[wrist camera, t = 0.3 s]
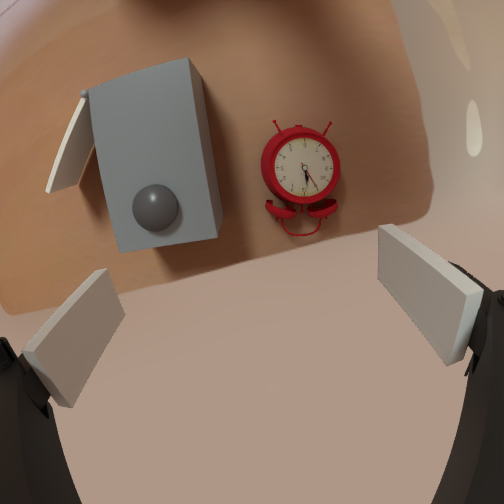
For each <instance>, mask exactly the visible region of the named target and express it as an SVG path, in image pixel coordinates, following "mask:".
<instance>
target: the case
mask: <svg viewBox="0 0 504 504" xmlns="http://www.w3.org/2000/svg"><path fill="white" fill-rule="evenodd" d="M88 93H89V103H90V112H91V120H92V128H93V135H94V141H95V148H96V153H97V159H98V165H99V170H100V175H101V180H102V185H103V189H104V194H105V198H106V203H107V207H108V211H109V215H110V219H111V223H112V227H113V230H114V234H115V238H116V241H117V245H118V248H119V252H120V253H124V252H130V251H136V250H142V249H148V248H154V247H161V246H167V245H173V244H180V243H186V242H193V241H199V240H206V239H213V238H218V235H219V232H220V228H221V225H222V222H223V219H224V214H223V208H222V202H221V197H220V191H219V185H218V179H217V173H216V167H215V161H214V155H213V149H212V143H211V136H210V130H209V124H208V117H207V111H206V104H205V98H204V91H203V84H202V77H201V75H200V73H199V72H198V71H197V69H196V68H195V66H194V65H193V63H192V62H191V61H190V59H189V58H188V57H186V58H182V59H178V60H174V61H170V62H166V63H163V64H159V65H155V66H152V67H149V68H145V69H142V70H139V71H136V72H133V73H130V74H127V75H124V76H121V77H118V78H116V79H113V80H110V81H108V82H105V83H102V84H100V85H97V86H95V87H93V88H90V89H88Z"/></svg>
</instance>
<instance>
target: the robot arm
mask: <svg viewBox="0 0 504 504" xmlns="http://www.w3.org/2000/svg"><path fill="white" fill-rule="evenodd" d="M378 280H379V281H380V282H381V283H382V284H383V285H384V287H385V288H386V289H387V290H388V291H389V292H390V294H391V295H392V296H393V297H394V299H395V300H396V301H397V302H398V304H399V305H400V306H401V307H402V308H403V310H404V311H405V312H406V313H407V315H408V316H409V317H410V318H411V320H412V321H413V322H414V323H415V325H416V326H417V327H418V328H419V330H420V331H421V332H422V334H423V335H424V337H425V338H426V339H427V340H428V342H429V343H430V344H431V346H432V347H433V348H434V350H435V351H436V353H437V354H438V355H439V357H440V358H441V359H442V361H443V362H444V364H445V365H446V366H449V365H451V364H454V363H456V362H458V361H461V360H463V358H464V356H465V353H466V350H467V347H468V346H469V347H470V348H471V350H472V351H473V352H474V353H473V355H472V358H471V360H470V363H469V366H468V368H467V370H466V372H465V375H464V376H467V375H468V372H469V375H468V381H467V387H466V393H465V398H464V403H463V408H462V413H461V417H460V421H459V425H458V430H457V433H456V437H455V440H454V444H453V447H452V450H451V454H450V457H449V460H448V462H447V465H446V468H445V471H444V474H443V476H442V479H441V482H440V484H439V487H438V489H437V491H436V494H435V496H434V498H433V501H432V503H431V504H504V290H498V291H495V292H492V291H491V290H490V289H489V288H488V287H486V286H485V285H484V284H483V283H481V282H480V281H479V280H477V279H476V278H473V276H472V275H471V274H469V273H467V271H466V270H464V269H463V268H462V267H460V266H459V265H456V264H454V263H451V262H449V261H446V260H444V259H443V258H442V257H441V256H439V255H438V254H436V253H435V252H434V251H432V250H431V249H429V248H428V247H426V246H425V245H423V244H422V243H420V242H419V241H418V240H416V239H415V238H413V237H412V236H410V235H409V234H407V233H406V232H404V231H403V230H401V229H400V228H398V227H397V226H395V225H394V224H386V225H379V226H378ZM124 316H125V313H124V310H123V308H122V306H121V303H120V301H119V298H118V295H117V293H116V290H115V288H114V285H113V282H112V279H111V277H110V274H109V271H108V268H106V269H100V270H95V271H94V272H93V273H92V274H91V275H90V276H89V277H88V278H87V279H86V280H85V281H84V282H83V283H82V284H81V285H80V286H79V287H78V288H77V289H76V290H75V291H74V292H73V293H72V294H71V296H70V297H69V298H68V299H67V300H66V301H65V302H64V303H63V304H62V305H61V306H60V307H59V308H58V309H57V310H56V312H54V314H53V315H52V316H51V317H50V318H49V319H48V320H47V321H46V323H44V325H43V326H42V327H41V328H40V329H39V331H37V333H36V334H35V335H34V336H33V337H32V338H31V339H30V341H29V342H28V343H27V344H26V345H25V347H24V348H23V349H22V350H21V351H22V354H21V355H20V356H19V357H17V356H16V354H15V353H14V351H13V349H12V347H11V346H10V344H9V342H8V340H7V339H6V338H5V337H0V504H82V503H81V501H80V498H79V496H78V493H77V491H76V488H75V485H74V483H73V480H72V477H71V474H70V472H69V469H68V466H67V463H66V459H65V456H64V453H63V449H62V446H61V442H60V439H59V435H58V431H57V427H56V422H55V418H54V413H53V409H52V406H51V405H50V403H49V402H48V399H49V397H50V396H52V397H53V399H54V400H55V401H56V403H57V404H58V405H59V406H62V407H68V408H73V406H74V404H75V402H76V400H77V398H78V397H79V395H80V393H81V391H82V389H83V387H84V385H85V383H86V382H87V380H88V378H89V376H90V374H91V372H92V371H93V369H94V367H95V365H96V364H97V361H98V360H99V358H100V357H101V355H102V353H103V351H104V349H105V348H106V346H107V344H108V343H109V341H110V339H111V338H112V336H113V334H114V333H115V331H116V329H117V328H118V326H119V324H120V323H121V321H122V319H123V318H124Z"/></svg>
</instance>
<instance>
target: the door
mask: <svg viewBox="0 0 504 504" xmlns="http://www.w3.org/2000/svg"><path fill="white" fill-rule="evenodd" d="M80 96H81V97H82V98H81V100H80V102H79V104H78V106H77V108H76V110H75V113H74V115H73V117H72V119H71V122H70V124H69V126H68V129H67V131H66V133H65V136H64V138H63V141H62V143H61V146H60V149H59V151H58V154H57V157H56V160H55V162H54V165H53V168H52V171H51V174H50V178H49V181H48V184H47V187H46V192H47V193H49V194H50V193H53V192H56V191H58V190H61V189H64V188H67V187H70V186H73V185H76V184H78V182H79V179H80V176H81V174H82V171H83V168H84V166H85V163H86V161H87V158H88V156H89V154H90V151H91V149H92V147H93V144H94V142H95V141H94V135H93V128H92V120H91V112H90V103H89V93H88V90H85V89H84V90H82V91H81V93H80Z"/></svg>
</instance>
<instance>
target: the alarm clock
mask: <svg viewBox="0 0 504 504" xmlns="http://www.w3.org/2000/svg"><path fill="white" fill-rule="evenodd" d="M273 123H275V125H276V127H277V129H278V131H279V133H278V134H276V135H275V136H274V137H273V138H271V140H270V141H269V142H268V143H267V145H266V147H265V148H264V151H263V154H262V157H261V172H262V176H263V179H264V181H265V183H266V185H267V186H268V188H269V189H270V190H271V191H272V192H273V193H274V194H275V195H276V196H277V197H279V198H281V199H282V200H285V201H287V202H291V203H294V204H295V203H296V204H301V211H300V213H304V211H303V204H310V205H311V203H314V202H317V201H319V200H321V199H323V198H325V197H326V196H327V195H328V194H329V193H330V192H331V191H332V190H333V189H334V187H335V186H336V184H337V182H338V179H339V175H340V160H339V156H338V154H337V151H336V149H335V148H334V146H333V145H332V144H331V142H330V141H329V140H327V139H326V138H325V137H324V136H325V134H326V132H327V130H328V128H329V126H330V125H331V124H332V122H329V125H328V126H327V128H326V129H325V131H324V132H323V134H320V133H319V132H317V131H315V130H312V129H309V128H305V127H302V125H295V127H293V128H289V129H285V130H283V131H281V130H280V128H279V127H278V125H277V123H276V120H273ZM325 202H326V203H325V206H324V207H322V208H320V209H314V208H313V206H312V205H311V206H309V207H308V208H307V211H308V213H309V215H310V216H311V217H313V218H320V221H319V225H318V227H317V229H316V230H315V231H314V232H311V233H308V234H293V233H290V232H289V231H287V230H286V228H285V226H284V223H283V218H285V219H291V218H293V217H294V216H295V215H296V212H297V211H296V210H295V209H294V208H293V207H294V205H293V207H290V206H288V205H287V206H286V208H285V209H284V210H283V209H281V208H278V207H275V206H273V201H272V200H267V201H266V204H265V207H266V209H267V211H268V212H269V213H271V214H273V215H275V216H277V217H276V220H278V219H279V218H281V222H282V226H283V228H284V230H285V231H286V232H287V233H288V234H291V235H294V236H307V235H311V234H314V233H315V232H317V231H318V229H319V228H320V225H321V220H322V217H325V219H327V216H329V215H331V214H332V213H334V212H335V211H336V210H337V207H338V204H337V201H336V200H335V199H327V200H325Z"/></svg>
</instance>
